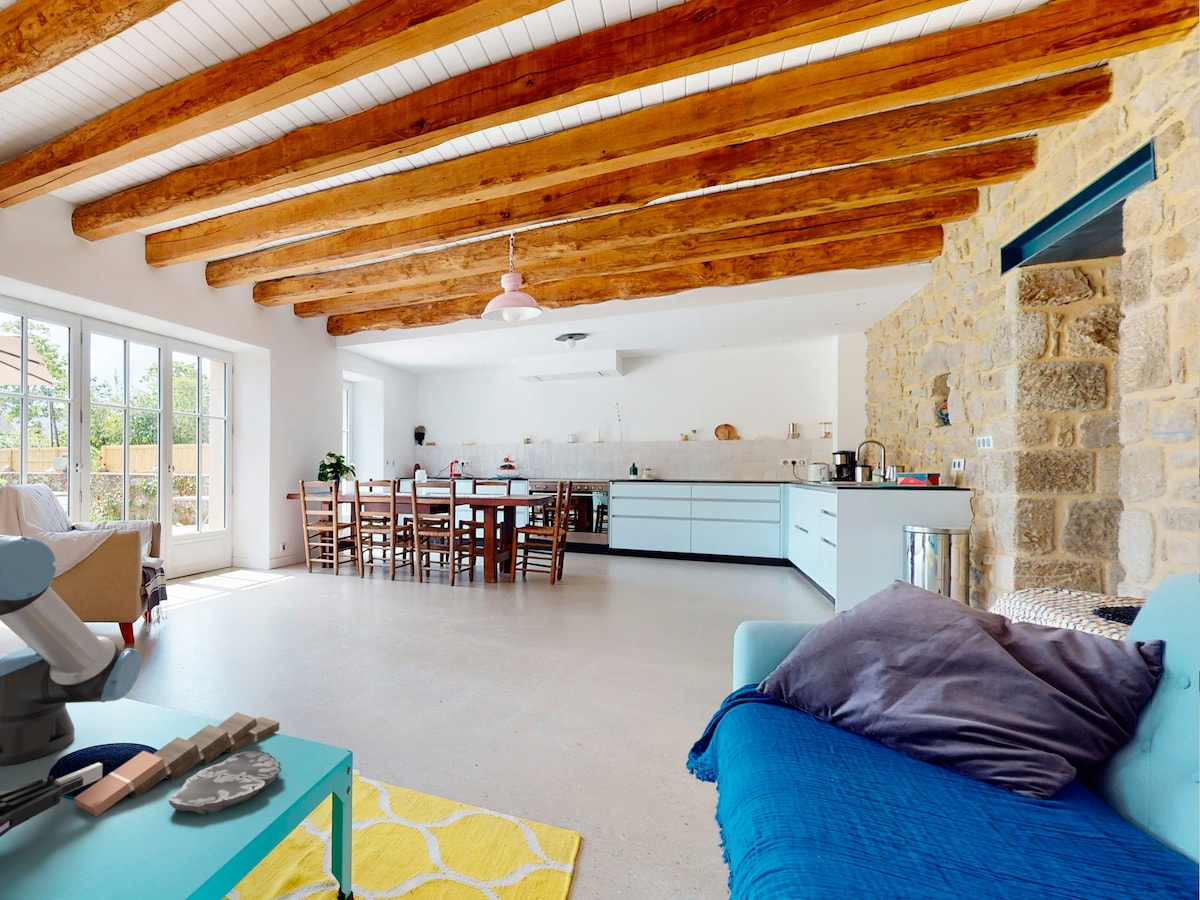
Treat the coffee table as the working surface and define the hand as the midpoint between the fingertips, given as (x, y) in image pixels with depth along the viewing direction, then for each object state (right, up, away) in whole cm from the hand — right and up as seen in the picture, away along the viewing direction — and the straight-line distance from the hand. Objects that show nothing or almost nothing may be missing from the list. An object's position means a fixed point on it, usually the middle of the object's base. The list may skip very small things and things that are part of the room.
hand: (100, 770), depth 106 cm
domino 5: (+9, -7, +21) cm, 24 cm away
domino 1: (-1, -6, -2) cm, 6 cm away
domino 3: (+4, -6, +10) cm, 12 cm away
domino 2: (+2, -6, +4) cm, 8 cm away
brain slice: (+22, -8, +6) cm, 24 cm away
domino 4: (+7, -7, +16) cm, 19 cm away
